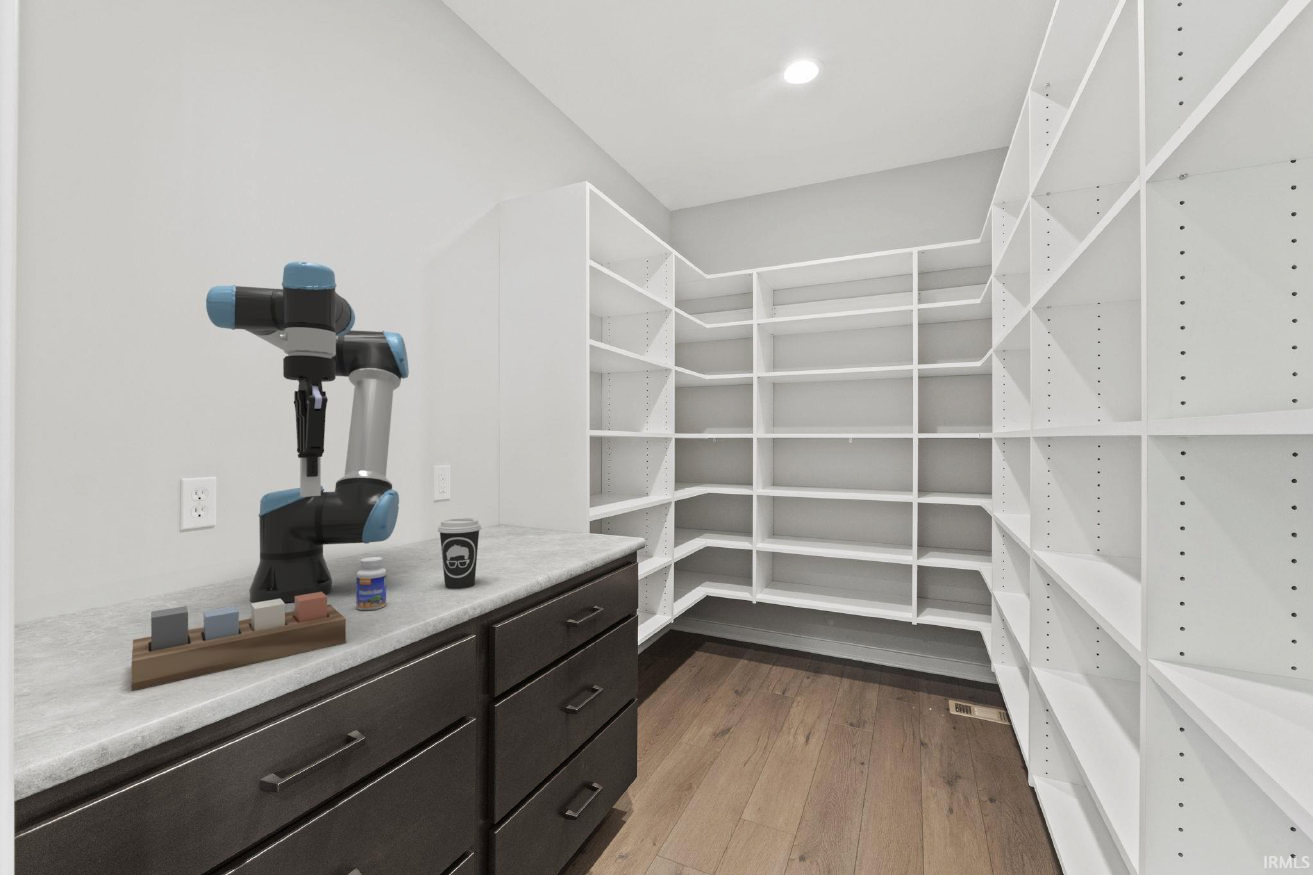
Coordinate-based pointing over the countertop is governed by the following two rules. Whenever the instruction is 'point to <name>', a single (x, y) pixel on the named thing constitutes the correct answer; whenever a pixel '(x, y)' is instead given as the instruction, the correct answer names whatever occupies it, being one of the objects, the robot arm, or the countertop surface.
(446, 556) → the coffee cup
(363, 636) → the countertop surface
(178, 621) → the key charcoal
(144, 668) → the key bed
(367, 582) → the pill bottle
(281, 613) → the key ivory
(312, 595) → the key brick
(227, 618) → the key blue
